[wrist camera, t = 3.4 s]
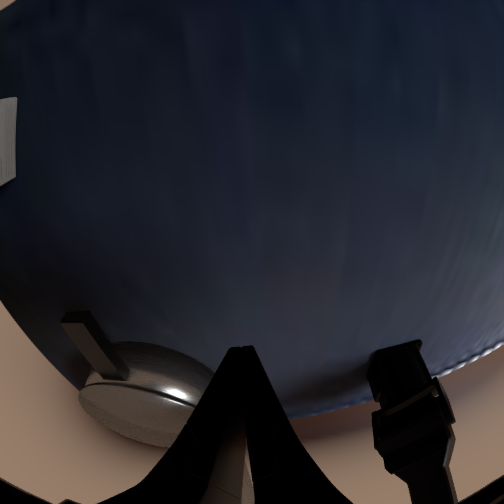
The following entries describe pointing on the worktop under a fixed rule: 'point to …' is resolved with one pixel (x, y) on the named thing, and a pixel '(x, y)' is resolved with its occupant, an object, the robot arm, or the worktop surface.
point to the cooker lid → (247, 488)
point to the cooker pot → (136, 383)
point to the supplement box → (7, 139)
